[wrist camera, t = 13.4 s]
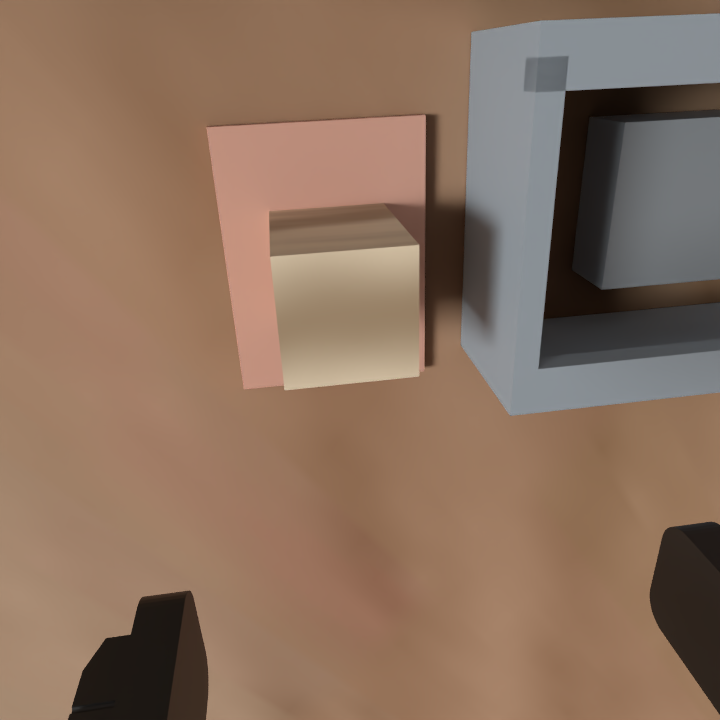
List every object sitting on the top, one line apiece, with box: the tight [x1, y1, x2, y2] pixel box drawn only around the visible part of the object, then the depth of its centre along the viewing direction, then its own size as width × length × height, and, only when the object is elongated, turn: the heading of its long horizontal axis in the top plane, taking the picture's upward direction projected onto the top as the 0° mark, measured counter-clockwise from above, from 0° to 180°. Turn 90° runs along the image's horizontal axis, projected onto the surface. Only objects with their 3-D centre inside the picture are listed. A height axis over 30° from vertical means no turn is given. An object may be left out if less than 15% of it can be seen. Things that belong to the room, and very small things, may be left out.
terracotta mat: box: [207, 114, 426, 389], centre depth 28 cm, size 12×9×1 cm
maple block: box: [269, 203, 419, 390], centre depth 24 cm, size 5×5×7 cm
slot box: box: [461, 14, 720, 416], centre depth 26 cm, size 14×18×7 cm
